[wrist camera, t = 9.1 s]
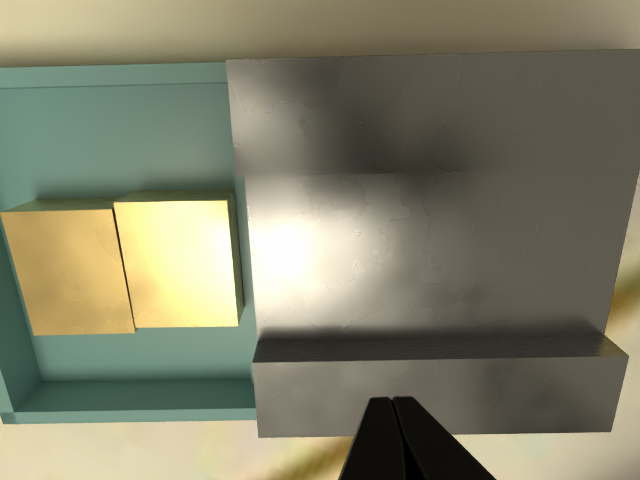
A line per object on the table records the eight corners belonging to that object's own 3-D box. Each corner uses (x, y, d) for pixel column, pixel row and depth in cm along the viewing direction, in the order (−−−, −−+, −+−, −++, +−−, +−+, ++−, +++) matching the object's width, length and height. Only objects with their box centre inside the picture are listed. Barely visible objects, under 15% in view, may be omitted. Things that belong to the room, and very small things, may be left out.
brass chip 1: (153, 308, 19) (135, 333, 17) (62, 311, 19) (33, 335, 17) (134, 196, 17) (111, 209, 15) (35, 199, 17) (-1, 212, 15)
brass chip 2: (246, 302, 19) (238, 326, 17) (154, 303, 19) (135, 327, 17) (237, 188, 17) (226, 200, 15) (136, 190, 17) (113, 202, 15)
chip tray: (268, 382, 21) (261, 419, 18) (39, 386, 21) (3, 424, 18) (245, 66, 16) (232, 61, 14) (-48, 73, 16) (-111, 70, 14)
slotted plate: (564, 377, 20) (611, 431, 17) (268, 382, 21) (258, 437, 17) (624, 56, 16) (703, 47, 13) (245, 66, 16) (225, 59, 13)
